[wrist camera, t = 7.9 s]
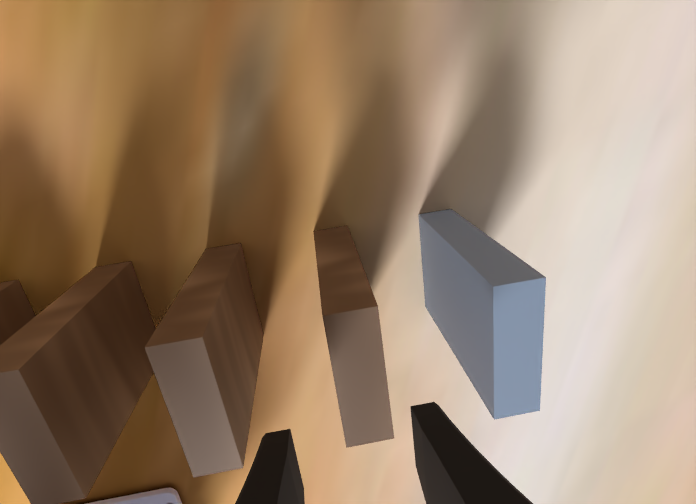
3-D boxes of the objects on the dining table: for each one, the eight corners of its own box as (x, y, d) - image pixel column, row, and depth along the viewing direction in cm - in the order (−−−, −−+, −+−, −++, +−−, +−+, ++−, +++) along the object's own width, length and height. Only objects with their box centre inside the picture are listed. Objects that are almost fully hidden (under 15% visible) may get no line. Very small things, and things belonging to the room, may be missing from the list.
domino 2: (240, 242, 19) (202, 337, 11) (263, 334, 21) (243, 467, 13) (206, 248, 19) (144, 347, 11) (231, 340, 21) (193, 477, 13)
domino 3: (347, 225, 19) (377, 306, 12) (360, 317, 21) (394, 438, 13) (313, 231, 19) (322, 316, 12) (329, 323, 21) (346, 447, 13)
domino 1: (131, 260, 19) (18, 369, 11) (163, 352, 20) (85, 498, 13) (95, 266, 18) (-43, 380, 11) (131, 358, 20) (34, 508, 13)
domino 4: (451, 208, 19) (545, 277, 12) (455, 301, 21) (539, 410, 14) (418, 214, 19) (493, 286, 12) (425, 306, 21) (494, 419, 14)
